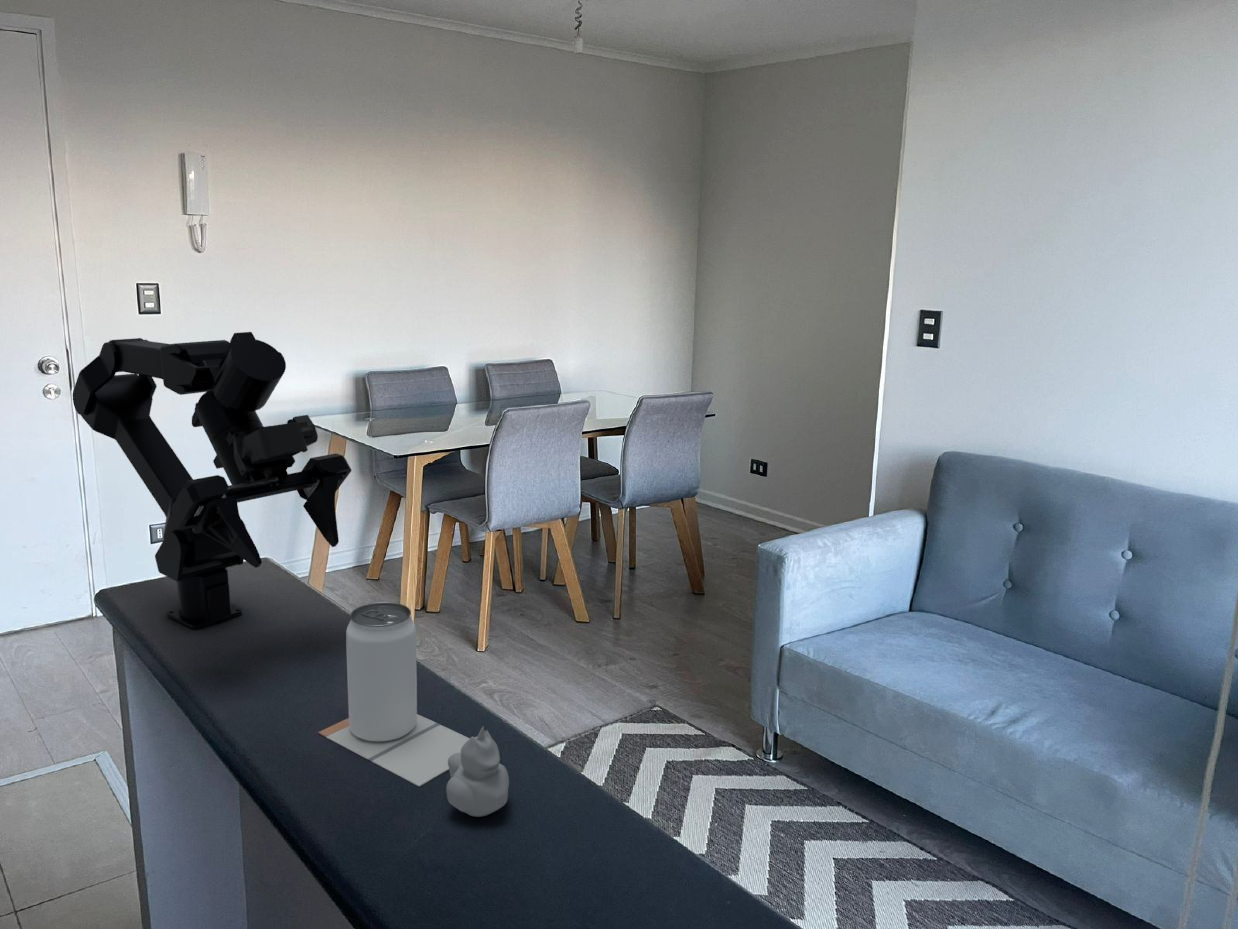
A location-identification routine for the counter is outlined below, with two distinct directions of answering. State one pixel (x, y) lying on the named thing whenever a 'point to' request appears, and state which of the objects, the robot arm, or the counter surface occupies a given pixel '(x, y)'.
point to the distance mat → (405, 749)
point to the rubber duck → (477, 777)
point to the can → (381, 672)
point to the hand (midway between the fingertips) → (298, 554)
